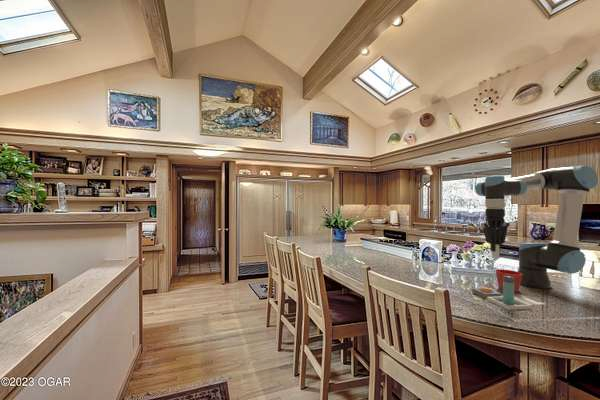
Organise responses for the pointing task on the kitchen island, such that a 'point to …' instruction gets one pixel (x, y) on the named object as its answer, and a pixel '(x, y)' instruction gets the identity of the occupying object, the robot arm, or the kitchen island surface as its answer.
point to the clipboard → (528, 299)
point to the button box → (485, 295)
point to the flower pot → (515, 274)
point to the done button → (486, 289)
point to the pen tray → (509, 307)
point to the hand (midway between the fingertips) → (495, 258)
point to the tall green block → (508, 290)
